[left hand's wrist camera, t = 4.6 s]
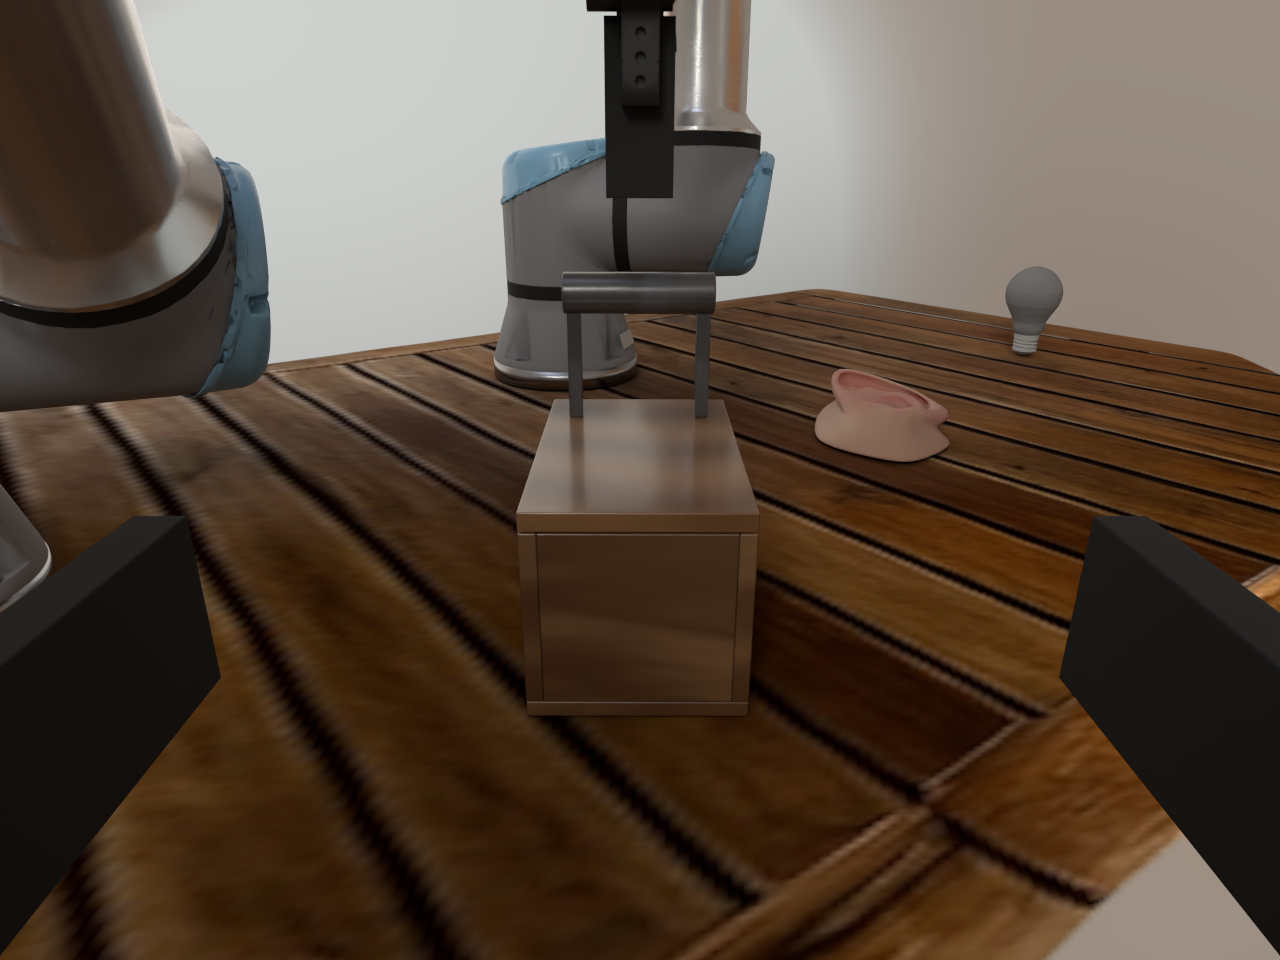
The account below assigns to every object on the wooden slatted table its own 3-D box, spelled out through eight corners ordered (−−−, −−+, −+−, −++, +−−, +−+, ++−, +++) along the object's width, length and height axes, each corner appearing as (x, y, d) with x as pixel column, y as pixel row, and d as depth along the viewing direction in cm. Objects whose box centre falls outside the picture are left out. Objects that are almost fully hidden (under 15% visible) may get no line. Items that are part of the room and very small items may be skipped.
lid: (554, 413, 48) (549, 263, 45) (722, 413, 48) (728, 264, 45) (516, 532, 33) (504, 321, 30) (759, 533, 33) (772, 322, 30)
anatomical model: (950, 419, 63) (797, 401, 67) (943, 469, 64) (794, 448, 68) (961, 376, 74) (830, 364, 78) (955, 420, 75) (826, 405, 80)
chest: (558, 558, 51) (553, 418, 47) (718, 558, 51) (723, 419, 47) (527, 716, 37) (516, 533, 33) (747, 716, 37) (759, 534, 33)
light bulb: (1004, 359, 97) (1019, 270, 93) (990, 347, 103) (1003, 262, 99) (1058, 360, 96) (1075, 271, 93) (1041, 348, 102) (1057, 263, 98)
